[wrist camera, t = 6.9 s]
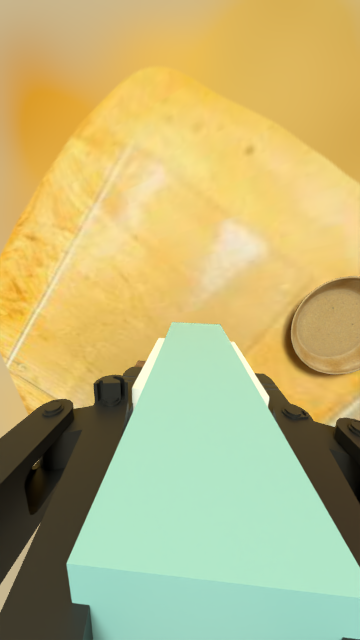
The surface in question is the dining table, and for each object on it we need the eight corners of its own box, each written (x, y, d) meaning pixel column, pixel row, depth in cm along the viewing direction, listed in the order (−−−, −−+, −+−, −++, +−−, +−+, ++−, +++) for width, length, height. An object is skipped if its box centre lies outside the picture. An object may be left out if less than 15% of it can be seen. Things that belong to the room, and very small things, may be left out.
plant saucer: (268, 303, 30) (275, 306, 28) (365, 257, 28) (382, 256, 26) (301, 380, 33) (311, 388, 31) (392, 343, 31) (411, 349, 28)
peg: (220, 324, 16) (378, 600, 2) (216, 368, 17) (316, 753, 3) (172, 322, 16) (66, 563, 3) (171, 366, 17) (88, 716, 4)
